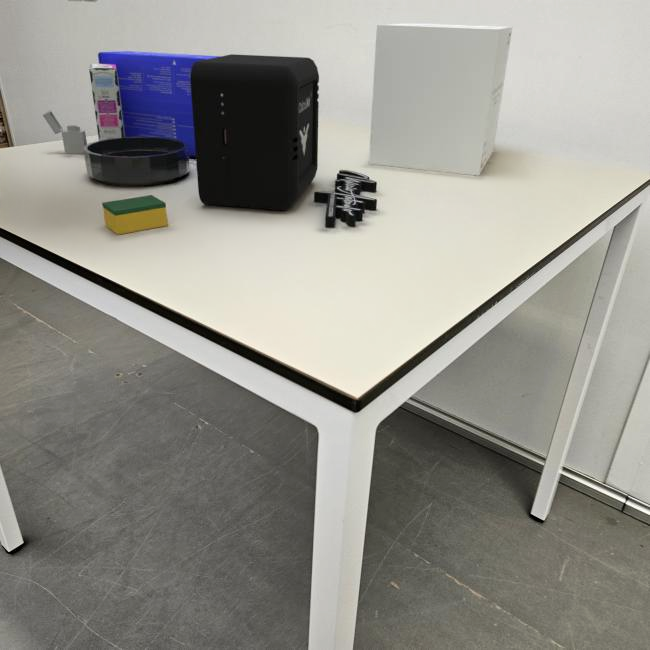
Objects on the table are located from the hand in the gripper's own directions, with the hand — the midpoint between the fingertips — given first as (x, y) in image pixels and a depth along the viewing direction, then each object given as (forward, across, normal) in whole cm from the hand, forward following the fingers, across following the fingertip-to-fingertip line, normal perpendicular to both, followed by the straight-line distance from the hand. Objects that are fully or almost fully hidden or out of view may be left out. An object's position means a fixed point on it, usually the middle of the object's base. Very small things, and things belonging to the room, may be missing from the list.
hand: (83, 1), depth 75 cm
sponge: (+27, +6, +4) cm, 28 cm away
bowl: (+27, -22, +1) cm, 35 cm away
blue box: (+27, -39, +10) cm, 48 cm away
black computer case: (+27, -8, +22) cm, 36 cm away
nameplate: (+27, -3, +35) cm, 44 cm away
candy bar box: (+27, -38, -6) cm, 47 cm away
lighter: (+27, -40, -15) cm, 51 cm away
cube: (+27, -34, +59) cm, 74 cm away
